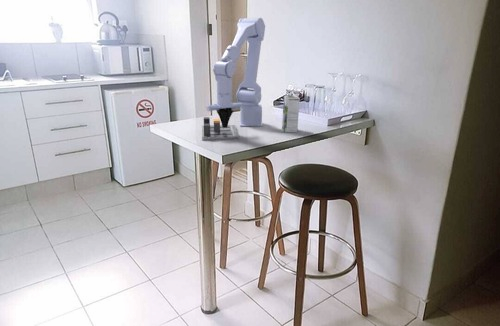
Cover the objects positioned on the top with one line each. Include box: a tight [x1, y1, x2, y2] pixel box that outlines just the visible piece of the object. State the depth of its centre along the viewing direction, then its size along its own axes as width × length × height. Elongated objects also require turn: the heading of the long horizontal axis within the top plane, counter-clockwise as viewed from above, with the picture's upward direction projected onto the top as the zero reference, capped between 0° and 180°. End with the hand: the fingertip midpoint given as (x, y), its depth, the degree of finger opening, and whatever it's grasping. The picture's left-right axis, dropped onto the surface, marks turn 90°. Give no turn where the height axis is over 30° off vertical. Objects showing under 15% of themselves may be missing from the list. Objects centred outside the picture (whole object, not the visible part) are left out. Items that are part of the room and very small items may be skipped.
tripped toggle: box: [213, 118, 221, 131], centre depth 144 cm, size 2×3×4 cm
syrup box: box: [281, 94, 301, 133], centre depth 149 cm, size 6×6×14 cm
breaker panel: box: [201, 116, 240, 141], centre depth 145 cm, size 14×18×5 cm
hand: (224, 127), depth 145 cm, fingers closed
